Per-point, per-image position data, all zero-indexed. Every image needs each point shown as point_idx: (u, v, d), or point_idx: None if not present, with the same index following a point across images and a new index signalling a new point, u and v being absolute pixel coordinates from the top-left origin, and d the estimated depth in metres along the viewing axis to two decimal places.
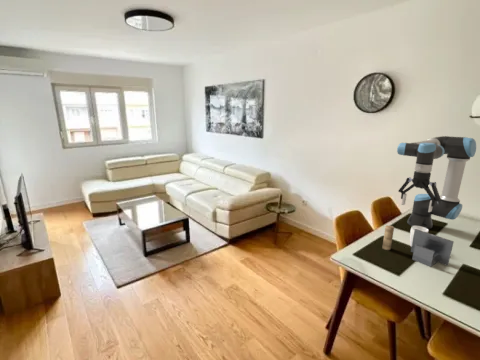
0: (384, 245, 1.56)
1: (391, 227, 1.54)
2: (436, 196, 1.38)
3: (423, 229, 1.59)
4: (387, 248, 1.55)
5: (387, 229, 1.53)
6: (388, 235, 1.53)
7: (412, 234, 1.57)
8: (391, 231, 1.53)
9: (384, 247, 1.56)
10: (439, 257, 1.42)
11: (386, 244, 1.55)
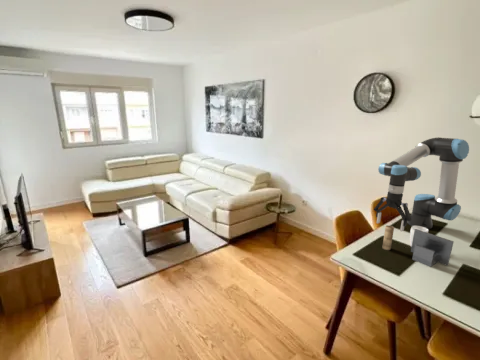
0: (384, 245, 1.56)
1: (391, 227, 1.54)
2: (407, 216, 1.44)
3: (423, 229, 1.59)
4: (387, 248, 1.55)
5: (387, 229, 1.53)
6: (388, 235, 1.53)
7: (412, 234, 1.57)
8: (391, 231, 1.53)
9: (384, 247, 1.56)
10: (439, 257, 1.42)
11: (386, 244, 1.55)
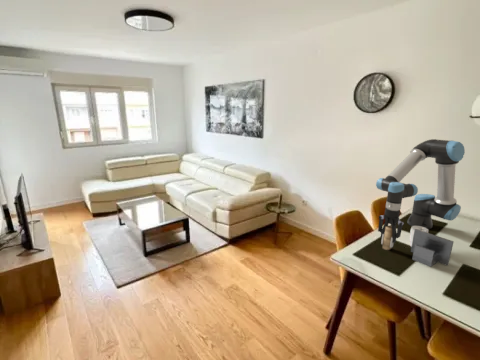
0: (384, 245, 1.56)
1: (391, 227, 1.54)
2: (397, 234, 1.50)
3: (423, 229, 1.59)
4: (387, 248, 1.55)
5: (387, 229, 1.53)
6: (388, 235, 1.53)
7: (412, 234, 1.57)
8: (391, 231, 1.53)
9: (384, 247, 1.56)
10: (439, 257, 1.42)
11: (386, 244, 1.55)
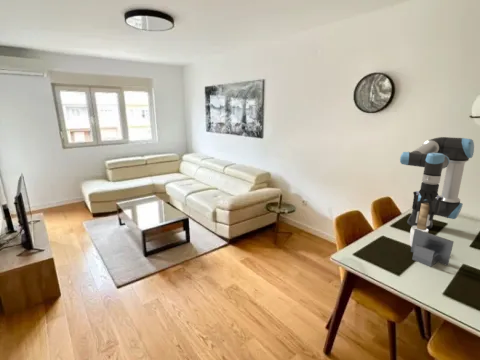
0: (419, 224, 1.41)
1: (428, 204, 1.39)
2: (436, 210, 1.35)
3: None
4: (423, 227, 1.41)
5: (423, 206, 1.39)
6: (424, 212, 1.39)
7: (412, 234, 1.57)
8: (428, 208, 1.38)
9: (419, 226, 1.42)
10: (439, 257, 1.42)
11: (422, 223, 1.40)
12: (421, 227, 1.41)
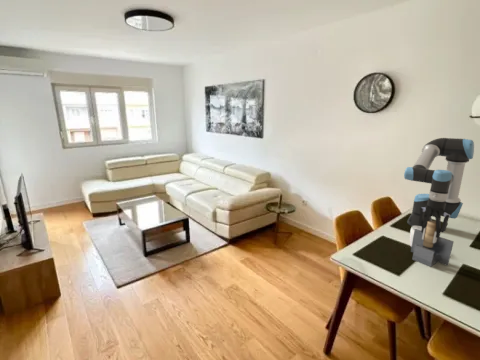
0: (426, 242, 1.41)
1: (434, 222, 1.38)
2: (443, 228, 1.34)
3: None
4: (429, 245, 1.40)
5: (430, 224, 1.38)
6: (431, 231, 1.38)
7: (412, 234, 1.57)
8: (434, 226, 1.37)
9: (425, 244, 1.41)
10: (439, 257, 1.42)
11: (428, 241, 1.40)
12: (427, 245, 1.40)
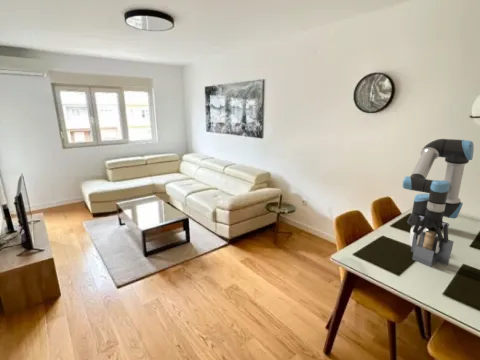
0: None
1: (432, 233, 1.40)
2: (445, 238, 1.34)
3: None
4: None
5: (428, 235, 1.40)
6: (429, 241, 1.40)
7: (412, 234, 1.57)
8: (433, 237, 1.39)
9: None
10: (439, 257, 1.42)
11: None
12: None
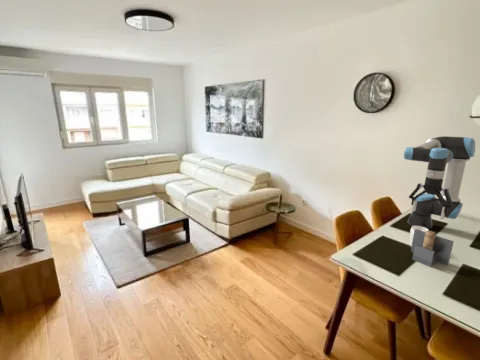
0: None
1: (432, 233, 1.40)
2: (449, 203, 1.34)
3: (423, 229, 1.59)
4: None
5: (428, 235, 1.40)
6: (429, 241, 1.40)
7: (412, 234, 1.57)
8: (432, 237, 1.39)
9: None
10: (439, 257, 1.42)
11: None
12: None
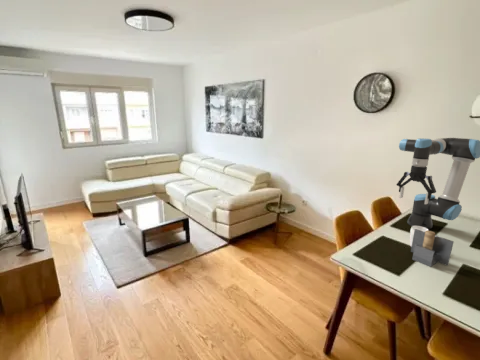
0: None
1: (432, 233, 1.40)
2: (432, 189, 1.46)
3: (423, 229, 1.59)
4: None
5: (427, 235, 1.40)
6: (429, 241, 1.40)
7: (412, 234, 1.57)
8: (432, 237, 1.39)
9: None
10: (439, 257, 1.42)
11: None
12: None
